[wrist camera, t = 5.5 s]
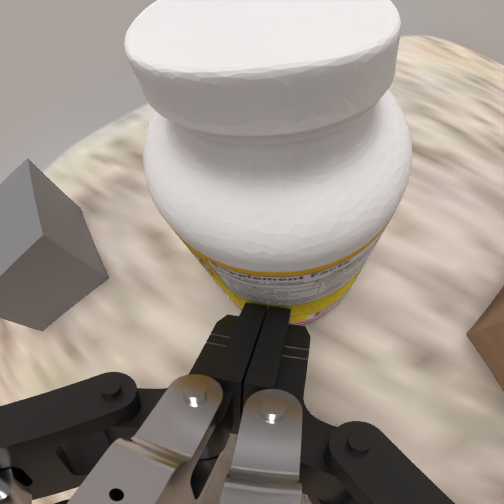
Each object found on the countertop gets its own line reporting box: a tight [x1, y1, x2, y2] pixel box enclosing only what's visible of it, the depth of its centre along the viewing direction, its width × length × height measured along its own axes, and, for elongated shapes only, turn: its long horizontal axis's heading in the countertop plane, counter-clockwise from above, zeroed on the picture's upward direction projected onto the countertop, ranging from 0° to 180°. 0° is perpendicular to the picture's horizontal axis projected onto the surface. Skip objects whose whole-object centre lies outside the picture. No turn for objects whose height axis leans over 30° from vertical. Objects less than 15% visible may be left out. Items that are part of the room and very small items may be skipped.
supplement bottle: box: [125, 0, 412, 325], centre depth 10 cm, size 7×7×13 cm
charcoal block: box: [0, 159, 109, 331], centre depth 15 cm, size 6×6×6 cm
